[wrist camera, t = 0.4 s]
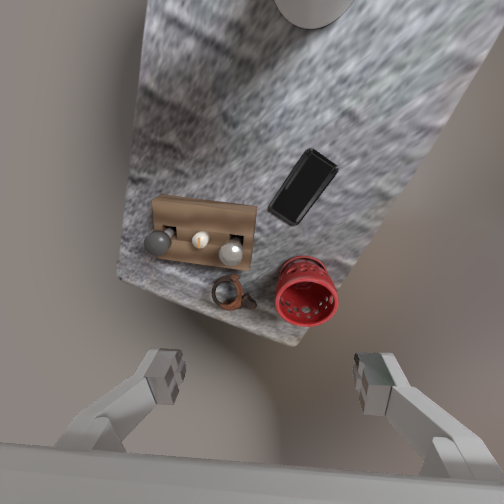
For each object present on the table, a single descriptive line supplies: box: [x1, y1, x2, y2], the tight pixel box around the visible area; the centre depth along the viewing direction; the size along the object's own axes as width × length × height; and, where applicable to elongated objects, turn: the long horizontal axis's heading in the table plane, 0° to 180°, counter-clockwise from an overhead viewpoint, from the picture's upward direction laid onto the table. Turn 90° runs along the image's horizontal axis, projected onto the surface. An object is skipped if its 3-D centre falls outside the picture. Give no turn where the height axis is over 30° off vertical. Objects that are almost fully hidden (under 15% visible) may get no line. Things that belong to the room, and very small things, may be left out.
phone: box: [269, 148, 338, 225], centre depth 51 cm, size 8×1×15 cm
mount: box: [152, 194, 257, 271], centre depth 55 cm, size 14×22×5 cm, turn 84°
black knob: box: [144, 228, 174, 256], centre depth 51 cm, size 5×5×7 cm
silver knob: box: [219, 237, 244, 266], centre depth 50 cm, size 5×5×7 cm
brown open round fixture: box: [212, 274, 257, 311], centre depth 62 cm, size 12×10×8 cm
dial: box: [192, 230, 210, 248], centre depth 52 cm, size 3×3×3 cm
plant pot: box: [275, 256, 339, 327], centre depth 55 cm, size 13×13×12 cm
